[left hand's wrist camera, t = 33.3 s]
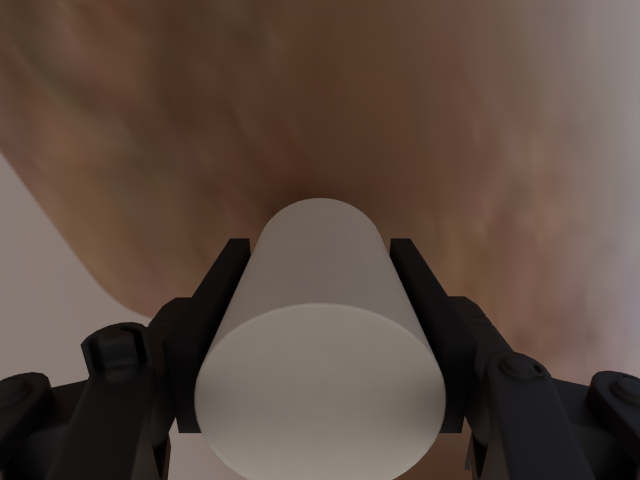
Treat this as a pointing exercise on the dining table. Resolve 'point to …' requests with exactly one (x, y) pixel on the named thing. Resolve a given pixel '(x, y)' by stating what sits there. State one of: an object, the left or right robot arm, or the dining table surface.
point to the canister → (320, 357)
